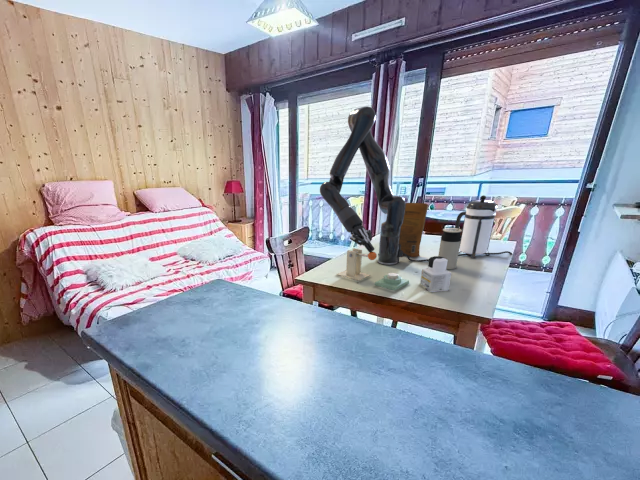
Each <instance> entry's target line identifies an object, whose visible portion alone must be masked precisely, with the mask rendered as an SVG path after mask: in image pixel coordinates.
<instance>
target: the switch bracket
mask: <svg viewBox="0 0 640 480" xmlns="http://www.w3.org/2000/svg"><path fill="white" fill-rule="evenodd" d="M355 251H358V253H362V254H363V249H359V248H352V250H349V249H348V250H347V251H346V267H345V270H342V271H341V272H338V273H336V275H337V276H340V277H344V278H347V279H351V280H355V281H361V280H364V279H366V278H368V277H370V276H371V274H369V273H365V272H362V261H363V260H362V259H363V256H358V257H356V256H357V252H355Z"/></svg>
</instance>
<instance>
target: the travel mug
mask: <svg viewBox="0 0 640 480" xmlns="http://www.w3.org/2000/svg"><path fill="white" fill-rule="evenodd" d="M442 231H443V233H442V235H441V236H440V244H439V249H438V255H437V256H440V257H444V258H446V259H447V260H448V261H447V267H446V270H454V269H456V268H457V264H458V258H459V256H458V255H459V254H460V253H459V252H460V242H461V235H462V228H459V229H457V228H455V227H445V228H442ZM458 253H459V254H458Z"/></svg>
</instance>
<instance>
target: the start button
mask: <svg viewBox="0 0 640 480" xmlns="http://www.w3.org/2000/svg"><path fill="white" fill-rule="evenodd" d="M387 275H388V276H387V278H388V279H398V276H399V274H398V273H396V272H388V273H387Z"/></svg>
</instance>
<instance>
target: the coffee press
mask: <svg viewBox="0 0 640 480" xmlns="http://www.w3.org/2000/svg"><path fill="white" fill-rule="evenodd" d="M479 198H480V199H478V200H472V201H469V202H468V203H467V205H466V206H465V208H466V211H462V212H460V213H458V215H457V217H456V219H455V226H454V228H457V229H460V226H461V219H462V218H463V216H464V219H463V225H462V228H461V230H462V231H461V234H460V235H461V242H460V248H459V253H458V255H459V254H461V253H462V254H472V255H471V257H470V258H471V259H476V256H477V255H479V254H480V255H485V256H487V257H489V256H491V254H485V253H490V252H489V247H490V241H491V236H492V232H493V228H494V222H495V218H496V215H497V209H498V206H497V203H496V202H495V201H492V200H486V199H487V196H486V195H484V194H483V195H481V196H480V197H479ZM480 255H479V256H480Z"/></svg>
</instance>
